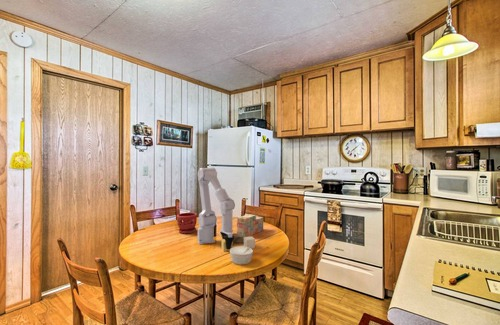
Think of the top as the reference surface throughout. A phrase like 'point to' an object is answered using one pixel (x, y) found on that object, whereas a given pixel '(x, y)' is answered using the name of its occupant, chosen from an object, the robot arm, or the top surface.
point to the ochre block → (225, 245)
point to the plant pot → (187, 222)
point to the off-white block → (249, 242)
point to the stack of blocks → (249, 225)
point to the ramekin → (241, 255)
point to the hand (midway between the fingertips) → (226, 246)
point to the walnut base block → (238, 238)
